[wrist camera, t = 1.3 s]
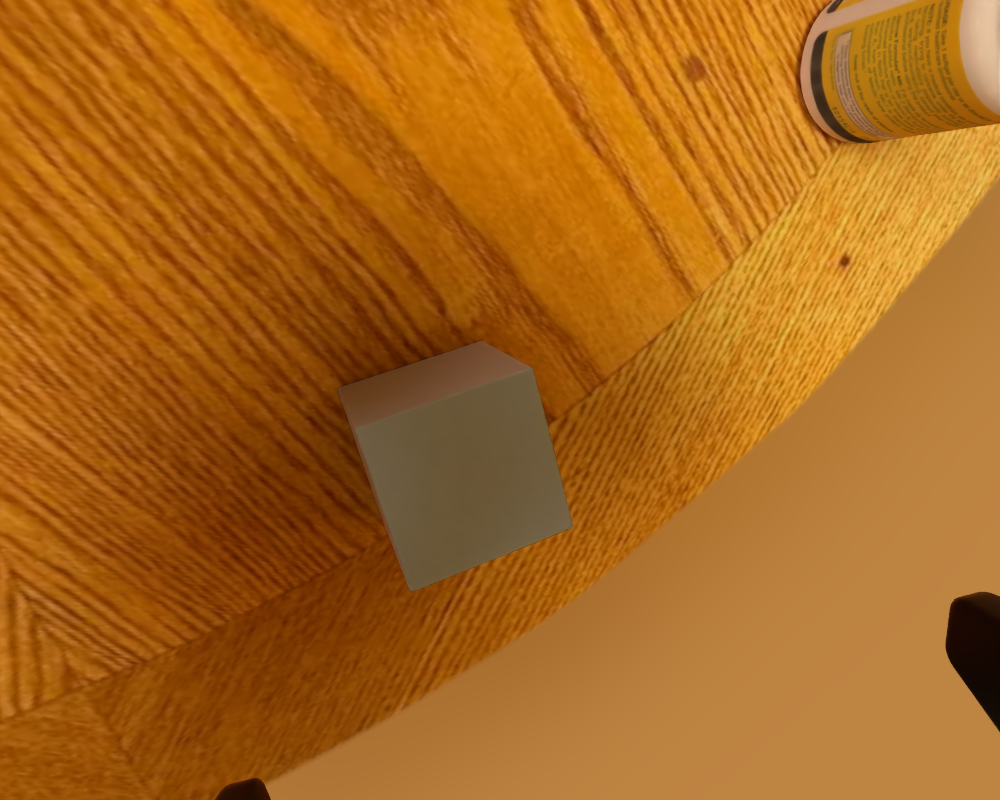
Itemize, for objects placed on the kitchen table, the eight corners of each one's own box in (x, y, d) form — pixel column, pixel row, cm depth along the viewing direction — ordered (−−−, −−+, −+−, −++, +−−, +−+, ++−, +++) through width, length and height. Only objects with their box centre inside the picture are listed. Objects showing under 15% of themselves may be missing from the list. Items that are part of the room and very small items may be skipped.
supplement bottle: (867, 171, 25) (1141, 145, 17) (770, 96, 23) (1026, 30, 15) (935, 42, 25) (1245, -43, 17) (842, -43, 23) (1140, -183, 15)
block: (518, 473, 24) (574, 527, 19) (383, 524, 23) (410, 593, 18) (482, 339, 22) (533, 366, 18) (336, 388, 21) (353, 428, 17)
